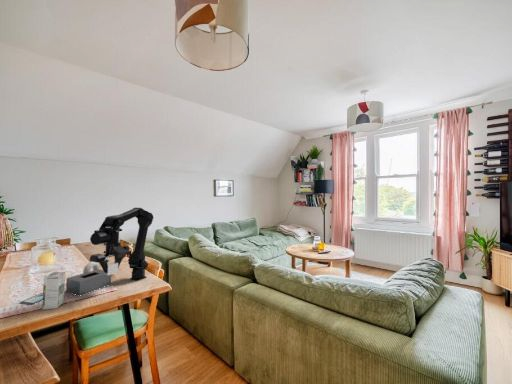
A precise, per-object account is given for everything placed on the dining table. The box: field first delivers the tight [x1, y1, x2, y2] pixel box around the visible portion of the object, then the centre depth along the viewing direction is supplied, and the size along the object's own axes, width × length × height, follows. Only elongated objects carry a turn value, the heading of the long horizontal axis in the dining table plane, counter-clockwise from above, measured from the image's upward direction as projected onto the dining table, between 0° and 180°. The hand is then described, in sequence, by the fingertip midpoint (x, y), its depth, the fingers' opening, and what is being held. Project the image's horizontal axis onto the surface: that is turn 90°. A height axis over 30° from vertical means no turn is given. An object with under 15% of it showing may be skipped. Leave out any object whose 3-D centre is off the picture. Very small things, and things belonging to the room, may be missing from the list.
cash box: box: [65, 269, 112, 297], centre depth 125 cm, size 16×11×7 cm
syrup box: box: [41, 271, 66, 311], centre depth 105 cm, size 6×6×14 cm
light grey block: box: [104, 261, 119, 276], centre depth 121 cm, size 6×2×5 cm, turn 156°
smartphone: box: [19, 292, 43, 306], centre depth 114 cm, size 7×1×15 cm
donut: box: [82, 261, 101, 274], centre depth 139 cm, size 10×3×10 cm, turn 170°
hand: (111, 271), depth 121 cm, fingers closed on light grey block, 5 cm apart
